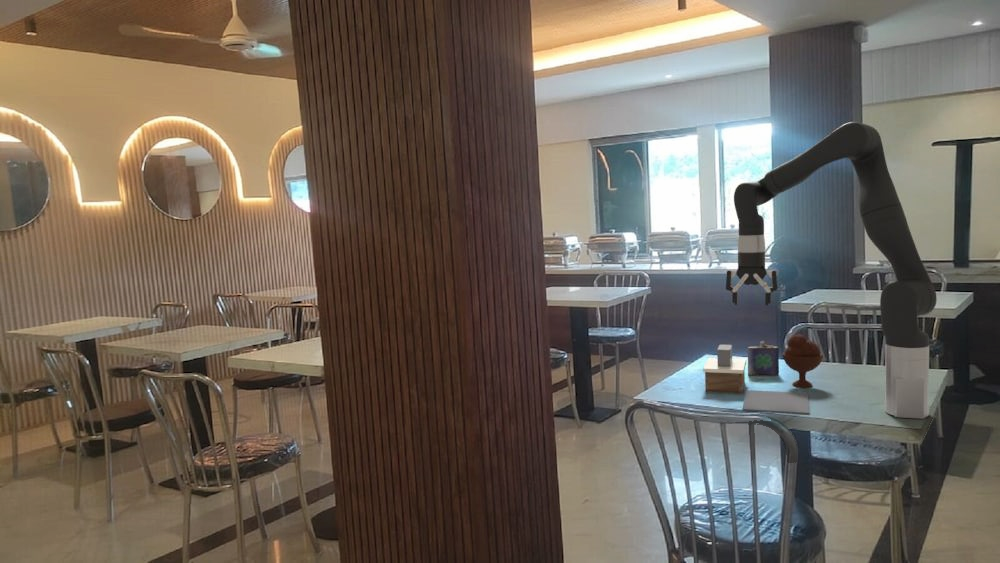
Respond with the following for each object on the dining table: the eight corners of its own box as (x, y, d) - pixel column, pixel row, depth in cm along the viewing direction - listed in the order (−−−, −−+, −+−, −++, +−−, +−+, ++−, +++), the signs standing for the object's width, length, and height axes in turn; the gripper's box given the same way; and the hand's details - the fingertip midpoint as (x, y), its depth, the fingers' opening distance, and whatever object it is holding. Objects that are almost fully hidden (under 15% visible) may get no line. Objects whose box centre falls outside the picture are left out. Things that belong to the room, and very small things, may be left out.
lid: (743, 377, 191) (743, 352, 190) (703, 376, 195) (702, 351, 195) (746, 366, 205) (745, 342, 204) (708, 365, 209) (707, 342, 208)
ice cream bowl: (784, 389, 194) (784, 338, 193) (781, 380, 205) (780, 331, 203) (825, 390, 191) (824, 338, 190) (819, 381, 201) (818, 331, 200)
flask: (748, 375, 213) (747, 342, 212) (747, 373, 216) (746, 340, 215) (779, 376, 211) (779, 342, 210) (778, 374, 213) (777, 340, 212)
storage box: (742, 393, 192) (741, 373, 191) (705, 392, 196) (705, 371, 195) (744, 382, 205) (744, 362, 204) (710, 380, 209) (709, 361, 208)
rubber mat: (809, 414, 170) (809, 412, 170) (742, 410, 176) (742, 408, 176) (807, 394, 188) (807, 392, 188) (746, 391, 194) (746, 390, 194)
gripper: (724, 251, 198) (725, 306, 200) (776, 251, 192) (776, 307, 194) (727, 250, 205) (727, 302, 207) (778, 249, 199) (778, 303, 201)
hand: (751, 304), depth 200 cm, fingers open, 8 cm apart
